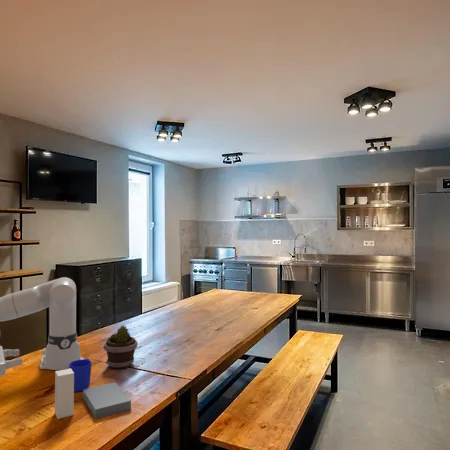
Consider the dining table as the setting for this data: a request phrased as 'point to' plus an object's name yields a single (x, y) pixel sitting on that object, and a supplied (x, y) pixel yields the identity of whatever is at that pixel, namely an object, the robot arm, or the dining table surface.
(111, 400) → the block
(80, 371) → the mug
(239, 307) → the dining table surface
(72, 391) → the block
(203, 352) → the dining table surface
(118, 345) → the flowerpot
